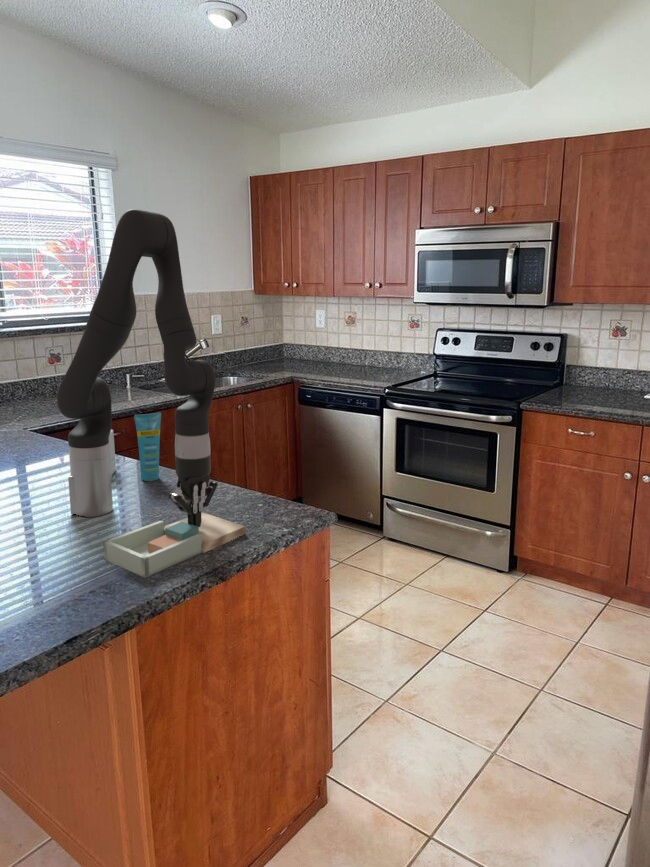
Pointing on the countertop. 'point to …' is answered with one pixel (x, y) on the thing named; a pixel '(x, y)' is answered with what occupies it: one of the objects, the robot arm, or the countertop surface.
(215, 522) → the maple plate
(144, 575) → the box
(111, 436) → the supplement box
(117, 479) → the countertop surface
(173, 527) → the teal square block
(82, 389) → the robot arm
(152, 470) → the tube
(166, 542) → the terracotta tile
